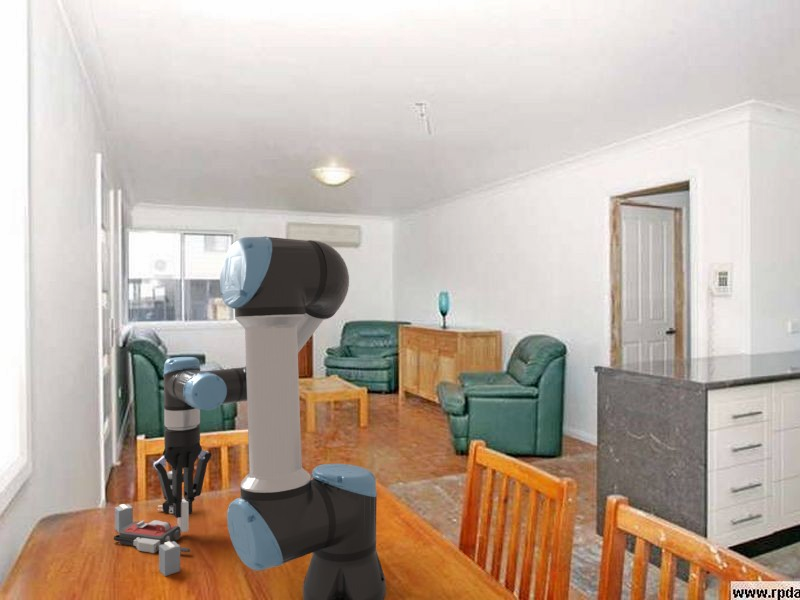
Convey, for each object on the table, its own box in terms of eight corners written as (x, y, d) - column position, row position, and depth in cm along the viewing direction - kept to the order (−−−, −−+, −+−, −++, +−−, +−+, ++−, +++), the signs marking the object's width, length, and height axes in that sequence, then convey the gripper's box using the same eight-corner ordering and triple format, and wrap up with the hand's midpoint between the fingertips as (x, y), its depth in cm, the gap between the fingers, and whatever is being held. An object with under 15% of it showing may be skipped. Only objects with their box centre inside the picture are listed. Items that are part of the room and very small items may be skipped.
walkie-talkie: (105, 548, 121) (186, 559, 116) (105, 528, 121) (186, 538, 116) (134, 531, 130) (210, 541, 125) (134, 512, 130) (210, 521, 125)
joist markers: (180, 570, 111) (180, 544, 111) (165, 576, 109) (164, 549, 109) (128, 524, 133) (128, 502, 133) (114, 528, 131) (114, 506, 130)
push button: (153, 515, 138) (153, 475, 138) (162, 507, 143) (162, 468, 143) (180, 516, 138) (179, 475, 138) (188, 507, 143) (188, 468, 143)
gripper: (203, 418, 133) (203, 516, 134) (146, 428, 124) (147, 533, 125) (217, 424, 128) (217, 526, 128) (159, 434, 119) (159, 544, 119)
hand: (183, 529), depth 127 cm, fingers closed
